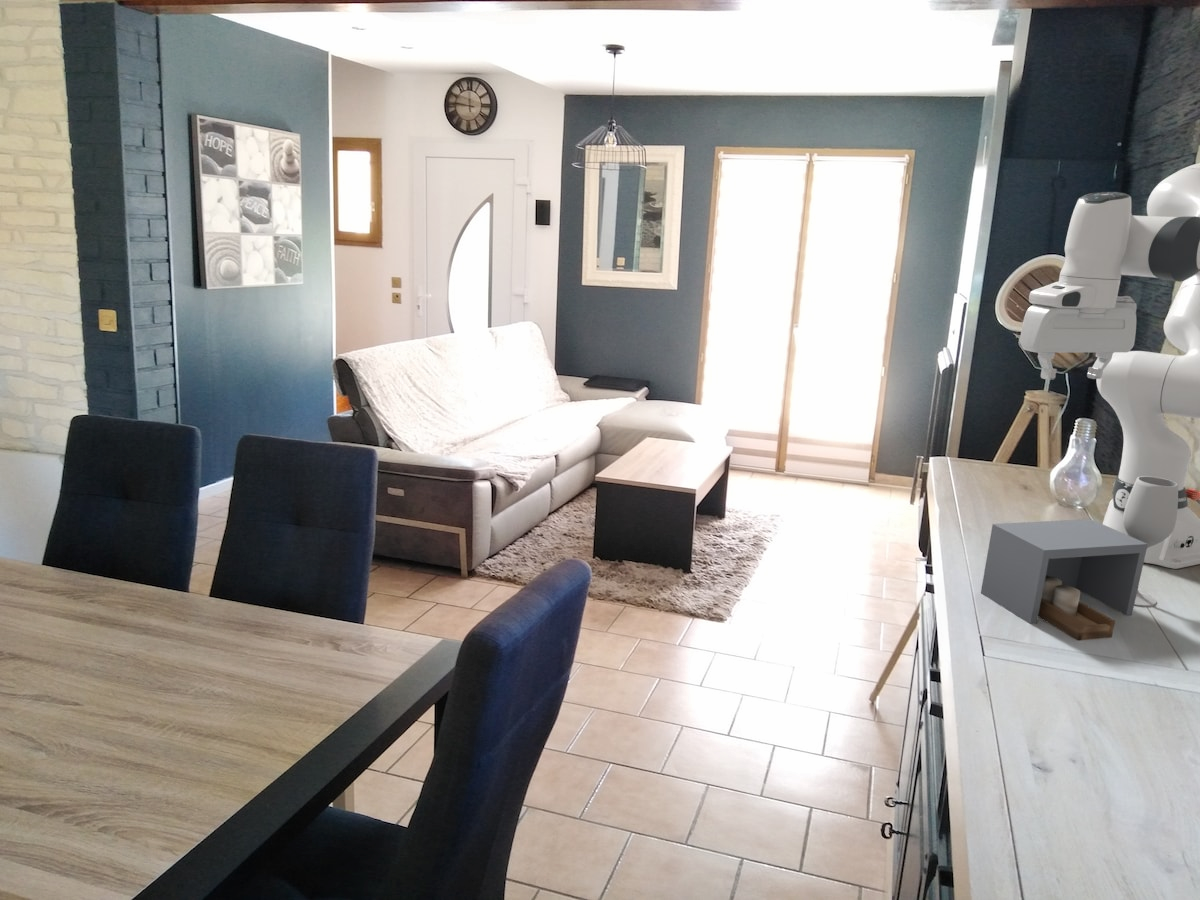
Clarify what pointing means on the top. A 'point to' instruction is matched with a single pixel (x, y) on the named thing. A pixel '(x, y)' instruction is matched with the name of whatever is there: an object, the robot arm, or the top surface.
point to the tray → (1079, 623)
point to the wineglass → (1151, 516)
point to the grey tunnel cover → (1061, 564)
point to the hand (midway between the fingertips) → (1071, 378)
